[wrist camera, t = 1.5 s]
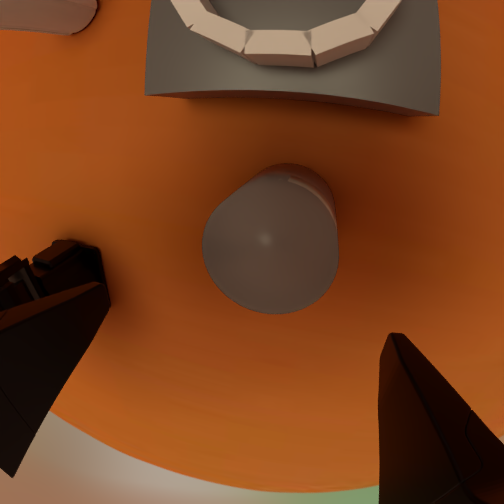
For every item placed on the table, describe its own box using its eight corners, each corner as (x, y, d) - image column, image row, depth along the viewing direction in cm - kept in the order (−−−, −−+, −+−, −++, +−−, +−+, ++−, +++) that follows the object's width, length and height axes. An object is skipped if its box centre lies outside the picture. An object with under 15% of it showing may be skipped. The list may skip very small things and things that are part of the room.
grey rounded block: (328, 258, 20) (326, 322, 14) (241, 246, 21) (204, 302, 15) (340, 169, 17) (349, 196, 11) (243, 159, 18) (200, 181, 12)
